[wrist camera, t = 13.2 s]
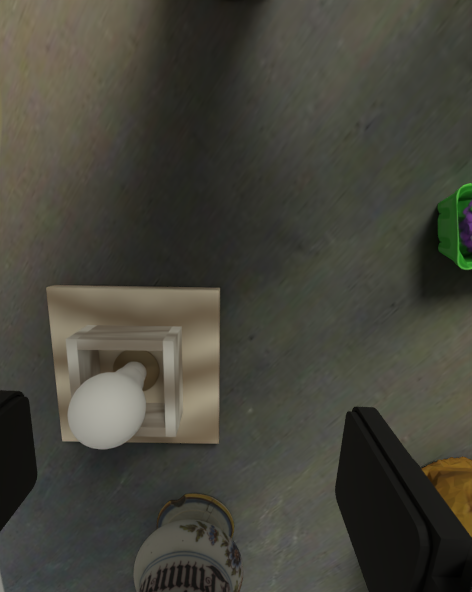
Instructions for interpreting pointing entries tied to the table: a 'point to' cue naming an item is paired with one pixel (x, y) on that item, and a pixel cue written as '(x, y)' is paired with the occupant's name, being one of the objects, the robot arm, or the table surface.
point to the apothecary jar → (190, 549)
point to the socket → (143, 352)
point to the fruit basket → (456, 227)
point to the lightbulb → (109, 407)
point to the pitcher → (454, 486)
